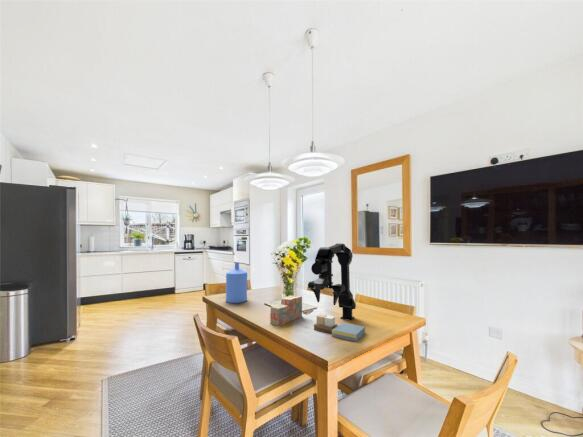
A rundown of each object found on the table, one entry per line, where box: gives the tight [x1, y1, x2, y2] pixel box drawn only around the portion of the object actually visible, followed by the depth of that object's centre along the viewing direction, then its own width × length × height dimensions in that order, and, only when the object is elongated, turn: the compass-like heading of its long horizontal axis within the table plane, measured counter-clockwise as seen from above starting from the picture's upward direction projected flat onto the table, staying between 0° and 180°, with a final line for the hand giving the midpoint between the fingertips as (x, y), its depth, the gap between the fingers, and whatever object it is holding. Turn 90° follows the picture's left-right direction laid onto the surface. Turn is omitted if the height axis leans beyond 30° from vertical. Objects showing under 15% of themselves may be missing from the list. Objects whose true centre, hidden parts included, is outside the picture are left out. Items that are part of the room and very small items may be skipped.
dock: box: [331, 322, 366, 342], centre depth 130 cm, size 13×12×3 cm
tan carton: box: [316, 313, 328, 325], centre depth 139 cm, size 4×4×4 cm
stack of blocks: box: [269, 294, 303, 327], centre depth 153 cm, size 21×6×12 cm, turn 141°
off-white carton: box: [324, 315, 336, 327], centre depth 136 cm, size 4×4×4 cm
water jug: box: [225, 262, 248, 304], centre depth 199 cm, size 16×16×28 cm
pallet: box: [313, 322, 338, 335], centre depth 137 cm, size 7×10×3 cm
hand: (326, 303), depth 133 cm, fingers open, 9 cm apart
